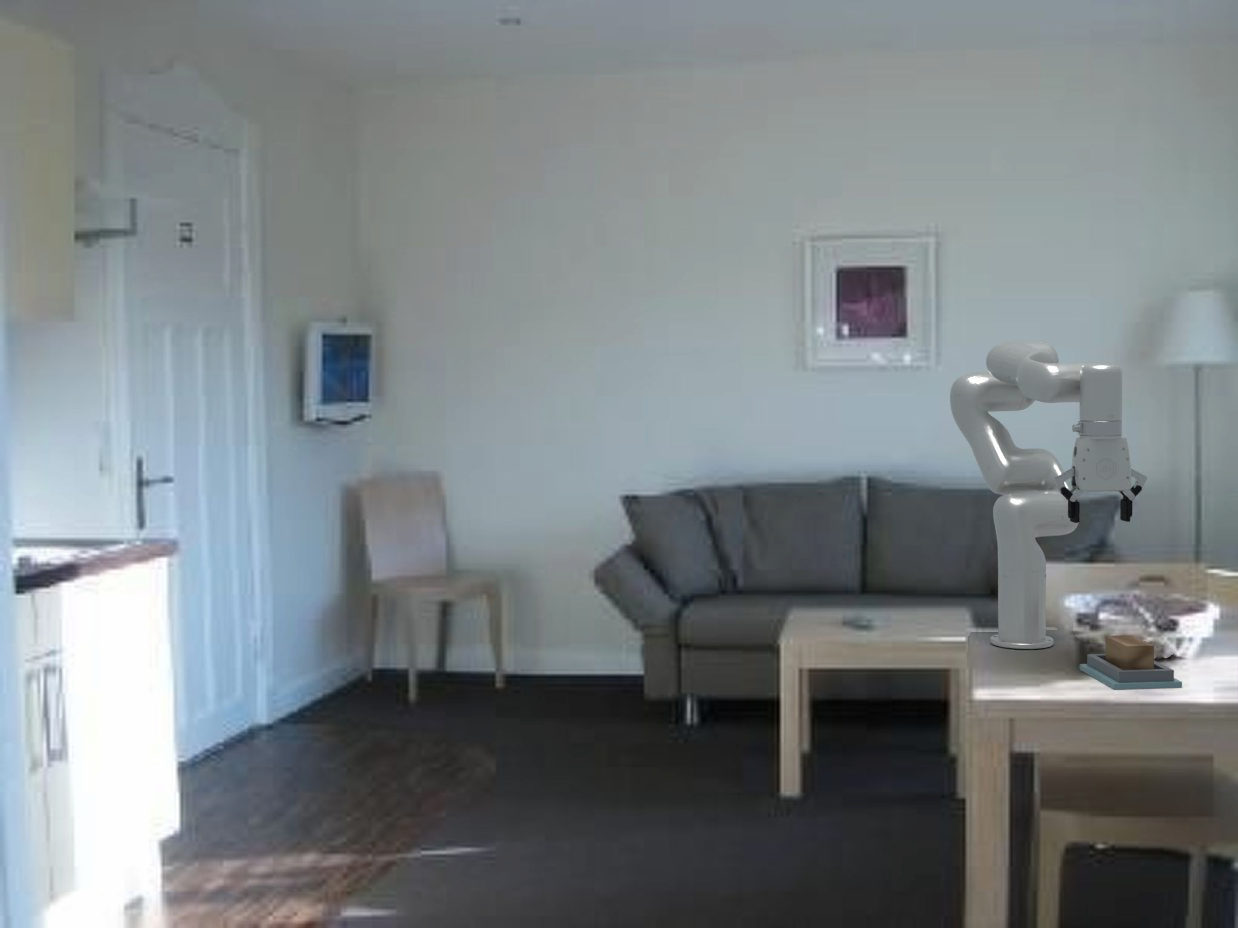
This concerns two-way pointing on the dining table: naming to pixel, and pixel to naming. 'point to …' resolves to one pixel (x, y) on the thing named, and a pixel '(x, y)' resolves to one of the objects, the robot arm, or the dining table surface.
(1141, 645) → the walnut block
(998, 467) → the robot arm
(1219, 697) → the dining table surface
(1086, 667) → the cradle
